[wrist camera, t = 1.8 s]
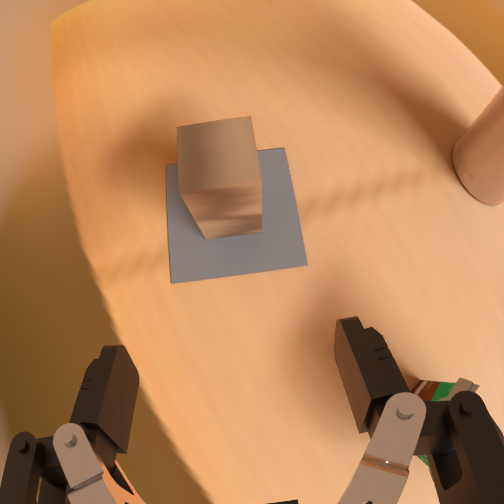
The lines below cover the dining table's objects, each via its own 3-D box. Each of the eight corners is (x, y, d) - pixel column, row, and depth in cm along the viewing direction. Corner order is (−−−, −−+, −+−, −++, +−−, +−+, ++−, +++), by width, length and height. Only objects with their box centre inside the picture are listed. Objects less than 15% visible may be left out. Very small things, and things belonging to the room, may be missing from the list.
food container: (364, 416, 24) (411, 451, 14) (412, 369, 25) (476, 380, 15) (425, 485, 21) (475, 525, 11) (467, 443, 22) (526, 468, 12)
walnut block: (254, 182, 29) (250, 116, 20) (262, 232, 28) (261, 179, 18) (201, 190, 29) (177, 127, 20) (206, 239, 28) (179, 192, 18)
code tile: (284, 148, 30) (284, 147, 30) (307, 265, 27) (307, 265, 27) (166, 165, 30) (165, 165, 30) (171, 283, 27) (171, 283, 27)
